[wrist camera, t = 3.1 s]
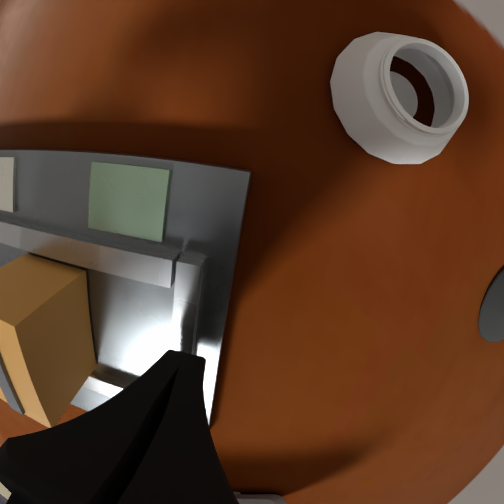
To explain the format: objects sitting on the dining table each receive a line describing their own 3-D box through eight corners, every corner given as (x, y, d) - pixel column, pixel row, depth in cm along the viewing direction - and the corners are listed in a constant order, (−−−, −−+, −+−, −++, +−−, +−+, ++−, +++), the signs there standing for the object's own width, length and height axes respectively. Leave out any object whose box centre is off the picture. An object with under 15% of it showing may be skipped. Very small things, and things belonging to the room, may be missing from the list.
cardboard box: (41, 343, 12) (-9, 396, 8) (25, 253, 10) (-47, 296, 6) (96, 365, 12) (50, 432, 8) (86, 270, 10) (10, 330, 6)
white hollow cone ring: (376, 17, 8) (300, 98, 9) (404, -15, 5) (312, 78, 7) (464, 105, 9) (401, 190, 10) (508, 99, 6) (439, 203, 7)
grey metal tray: (-7, 347, 15) (-20, 359, 13) (-33, 149, 10) (-55, 153, 8) (209, 431, 15) (203, 455, 13) (252, 170, 10) (248, 173, 8)
